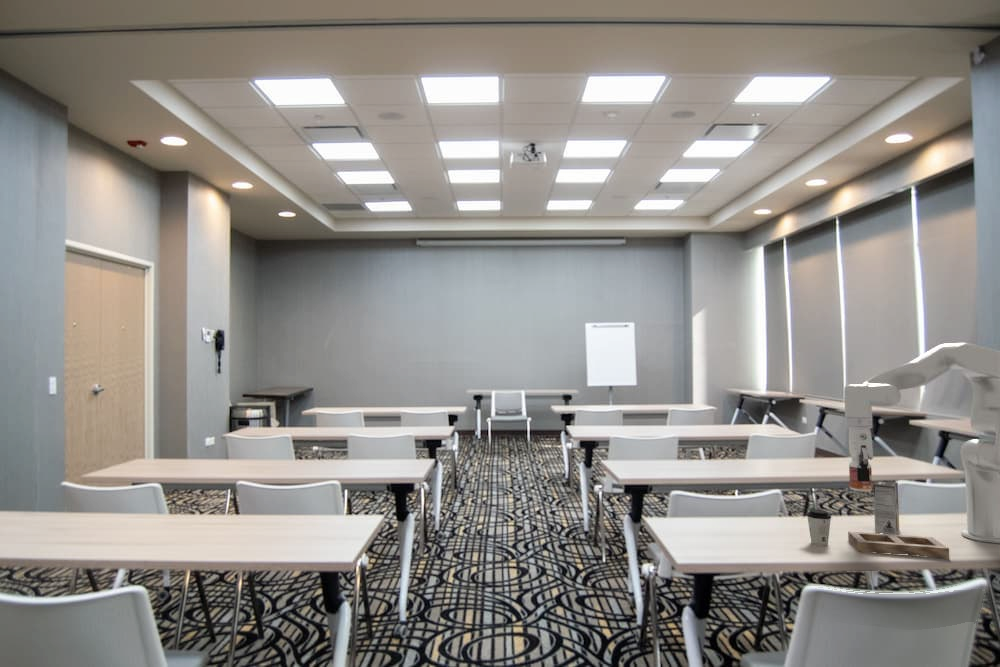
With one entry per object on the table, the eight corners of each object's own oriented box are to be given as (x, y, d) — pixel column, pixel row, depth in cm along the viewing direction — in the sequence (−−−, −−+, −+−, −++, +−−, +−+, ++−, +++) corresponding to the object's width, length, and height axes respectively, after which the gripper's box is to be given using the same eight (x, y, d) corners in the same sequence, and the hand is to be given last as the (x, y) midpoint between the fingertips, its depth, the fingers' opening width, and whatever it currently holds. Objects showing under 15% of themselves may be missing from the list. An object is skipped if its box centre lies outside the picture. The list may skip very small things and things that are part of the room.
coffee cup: (831, 548, 183) (830, 515, 184) (806, 544, 187) (805, 512, 188) (832, 542, 189) (831, 510, 190) (808, 539, 193) (807, 507, 193)
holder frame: (932, 547, 185) (932, 537, 185) (949, 559, 173) (949, 548, 173) (848, 540, 191) (848, 531, 191) (859, 552, 180) (859, 541, 180)
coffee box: (877, 527, 208) (876, 480, 209) (899, 530, 204) (898, 482, 205) (874, 533, 200) (873, 484, 201) (897, 536, 197) (895, 486, 197)
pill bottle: (865, 492, 189) (864, 457, 189) (845, 489, 194) (844, 454, 195) (876, 490, 192) (875, 455, 192) (856, 487, 197) (855, 453, 198)
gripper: (879, 425, 185) (882, 484, 184) (864, 420, 201) (866, 475, 200) (852, 425, 187) (854, 483, 186) (839, 420, 204) (841, 473, 203)
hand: (860, 478), depth 193 cm, fingers closed on pill bottle, 6 cm apart
